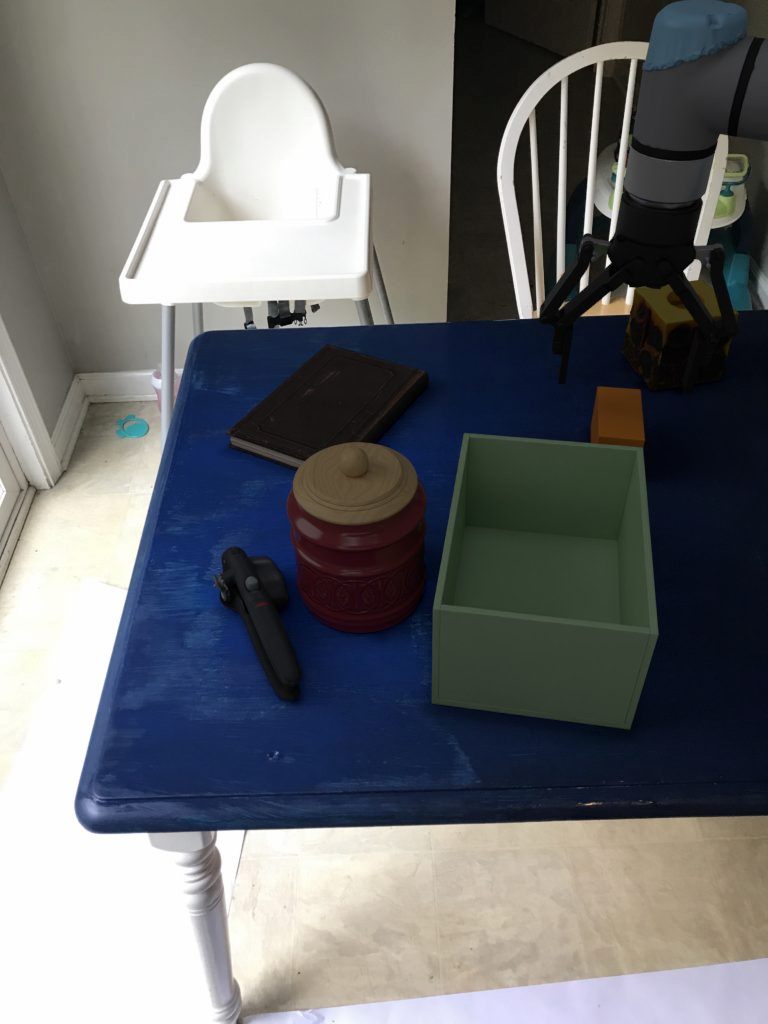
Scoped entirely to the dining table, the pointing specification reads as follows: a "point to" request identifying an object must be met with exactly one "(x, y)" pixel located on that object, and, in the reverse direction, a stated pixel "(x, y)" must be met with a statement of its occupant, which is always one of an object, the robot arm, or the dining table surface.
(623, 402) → the block
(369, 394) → the hardcover book
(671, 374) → the cube with round hole
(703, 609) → the dining table surface
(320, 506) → the kitchen canister
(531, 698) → the bin
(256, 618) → the can opener
